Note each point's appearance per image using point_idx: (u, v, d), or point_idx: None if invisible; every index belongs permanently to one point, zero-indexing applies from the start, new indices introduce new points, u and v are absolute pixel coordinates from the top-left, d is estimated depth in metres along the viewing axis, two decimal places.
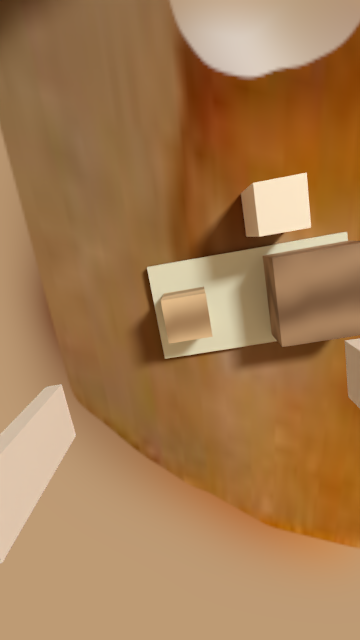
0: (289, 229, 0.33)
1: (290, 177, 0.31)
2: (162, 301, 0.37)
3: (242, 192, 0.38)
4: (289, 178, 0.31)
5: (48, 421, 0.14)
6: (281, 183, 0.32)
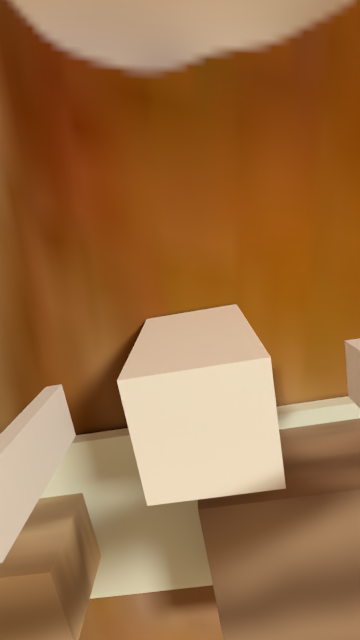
0: (227, 491, 0.12)
1: (224, 368, 0.11)
2: None
3: (143, 326, 0.17)
4: (221, 371, 0.11)
5: (48, 421, 0.14)
6: (197, 383, 0.11)
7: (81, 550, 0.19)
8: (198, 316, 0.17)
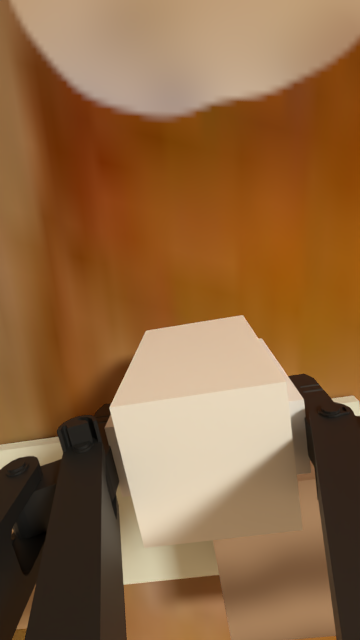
0: (235, 532, 0.10)
1: (232, 394, 0.09)
2: None
3: (142, 339, 0.16)
4: (229, 397, 0.09)
5: None
6: (201, 411, 0.09)
7: None
8: (202, 328, 0.16)
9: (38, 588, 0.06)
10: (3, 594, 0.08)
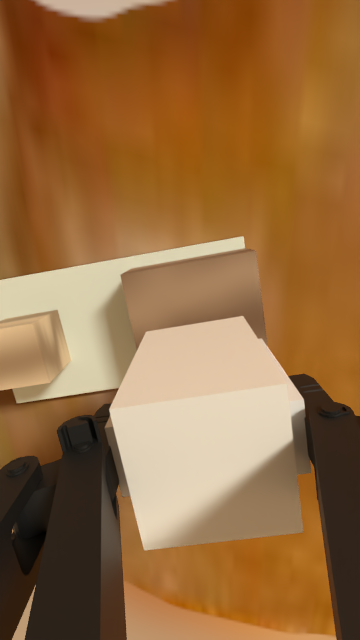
0: (236, 534, 0.10)
1: (232, 396, 0.09)
2: None
3: (142, 340, 0.16)
4: (229, 399, 0.09)
5: None
6: (202, 413, 0.09)
7: (55, 338, 0.29)
8: (202, 329, 0.16)
9: (38, 588, 0.06)
10: (3, 594, 0.08)
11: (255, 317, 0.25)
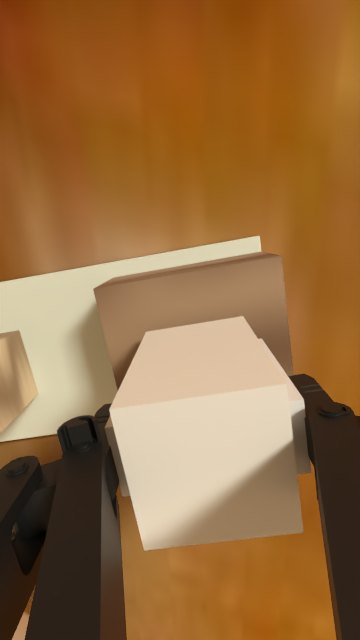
0: (236, 535, 0.10)
1: (232, 396, 0.09)
2: None
3: (142, 340, 0.16)
4: (229, 399, 0.09)
5: None
6: (202, 413, 0.09)
7: (14, 369, 0.22)
8: (202, 329, 0.16)
9: (38, 588, 0.06)
10: (3, 594, 0.08)
11: (278, 346, 0.18)
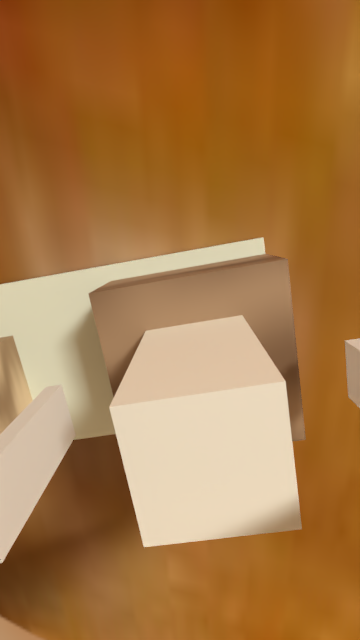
0: (235, 531, 0.11)
1: (231, 394, 0.09)
2: None
3: (142, 339, 0.16)
4: (228, 396, 0.09)
5: (48, 421, 0.14)
6: (201, 410, 0.10)
7: (6, 377, 0.21)
8: (201, 328, 0.16)
9: None
10: None
11: (284, 354, 0.17)
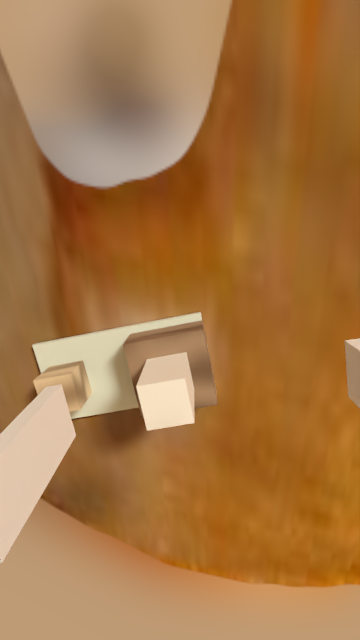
0: (174, 424, 0.35)
1: (170, 382, 0.33)
2: (34, 381, 0.43)
3: (145, 363, 0.40)
4: (169, 382, 0.33)
5: (48, 421, 0.14)
6: (162, 387, 0.34)
7: (82, 380, 0.46)
8: (168, 358, 0.40)
9: None
10: None
11: (205, 367, 0.41)
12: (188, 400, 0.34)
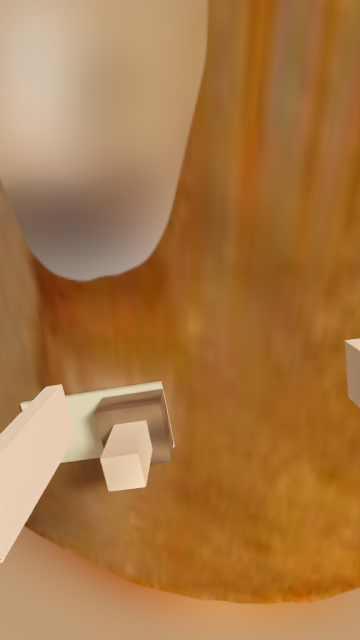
0: (130, 487, 0.44)
1: (126, 456, 0.43)
2: None
3: None
4: (126, 456, 0.43)
5: (48, 421, 0.14)
6: (120, 459, 0.43)
7: None
8: (130, 427, 0.49)
9: None
10: None
11: (161, 432, 0.51)
12: (141, 470, 0.43)
